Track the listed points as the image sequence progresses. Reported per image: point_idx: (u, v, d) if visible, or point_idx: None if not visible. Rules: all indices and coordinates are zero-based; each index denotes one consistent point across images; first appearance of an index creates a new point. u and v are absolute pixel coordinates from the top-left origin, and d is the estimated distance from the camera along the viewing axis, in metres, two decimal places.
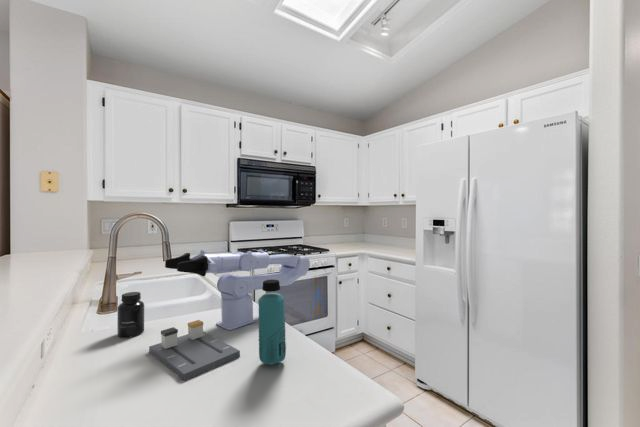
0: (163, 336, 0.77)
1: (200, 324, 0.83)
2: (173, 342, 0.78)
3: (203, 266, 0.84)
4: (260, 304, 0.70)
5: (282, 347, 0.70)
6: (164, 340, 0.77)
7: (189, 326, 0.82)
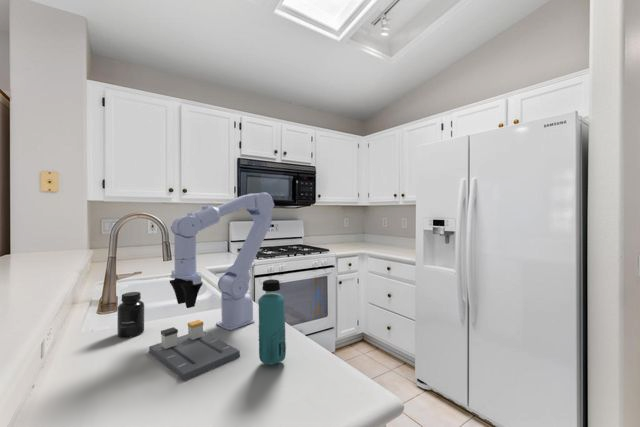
0: (163, 336, 0.77)
1: (200, 324, 0.83)
2: (173, 342, 0.78)
3: None
4: (260, 304, 0.70)
5: (282, 347, 0.70)
6: (164, 340, 0.77)
7: (189, 326, 0.82)
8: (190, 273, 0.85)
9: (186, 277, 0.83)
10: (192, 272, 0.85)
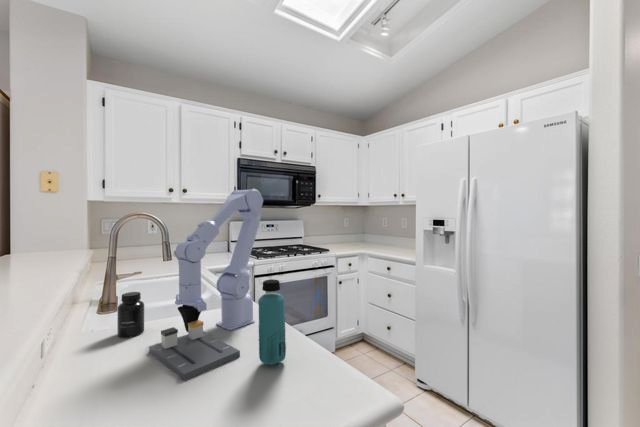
0: (163, 336, 0.77)
1: (200, 324, 0.83)
2: (173, 342, 0.78)
3: None
4: (260, 304, 0.70)
5: (282, 347, 0.70)
6: (164, 340, 0.77)
7: (189, 326, 0.82)
8: (195, 299, 0.83)
9: (191, 304, 0.81)
10: (197, 297, 0.84)
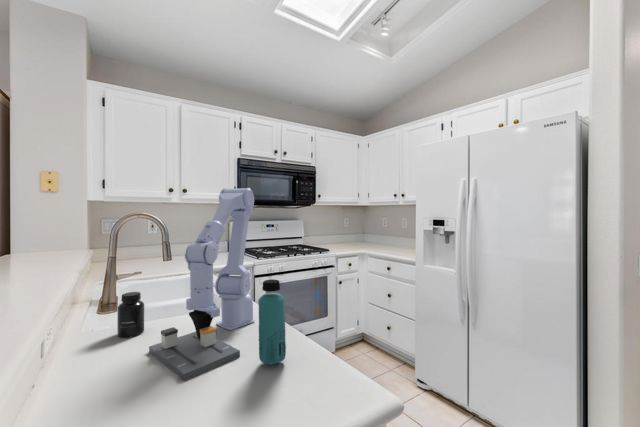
0: (163, 336, 0.77)
1: (213, 330, 0.79)
2: (173, 342, 0.78)
3: None
4: (260, 304, 0.70)
5: (282, 347, 0.70)
6: (164, 340, 0.77)
7: (201, 333, 0.78)
8: (207, 304, 0.79)
9: (203, 309, 0.77)
10: (209, 302, 0.79)
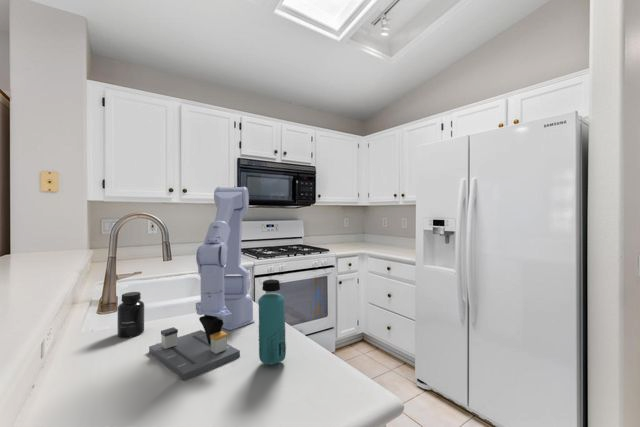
0: (163, 336, 0.77)
1: (224, 336, 0.75)
2: (173, 342, 0.78)
3: None
4: (260, 304, 0.70)
5: (282, 347, 0.70)
6: (164, 340, 0.77)
7: (212, 338, 0.74)
8: (218, 308, 0.75)
9: (215, 314, 0.73)
10: (221, 307, 0.76)
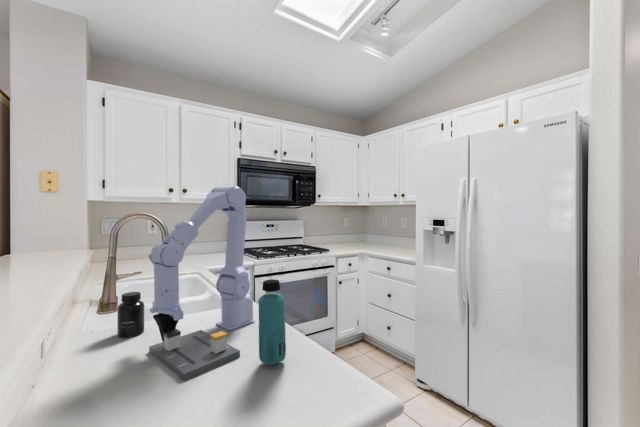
0: (166, 338, 0.76)
1: (224, 336, 0.75)
2: (175, 343, 0.77)
3: None
4: (260, 304, 0.70)
5: (282, 347, 0.70)
6: (167, 342, 0.75)
7: (212, 338, 0.74)
8: (171, 306, 0.77)
9: (166, 312, 0.75)
10: (174, 305, 0.77)
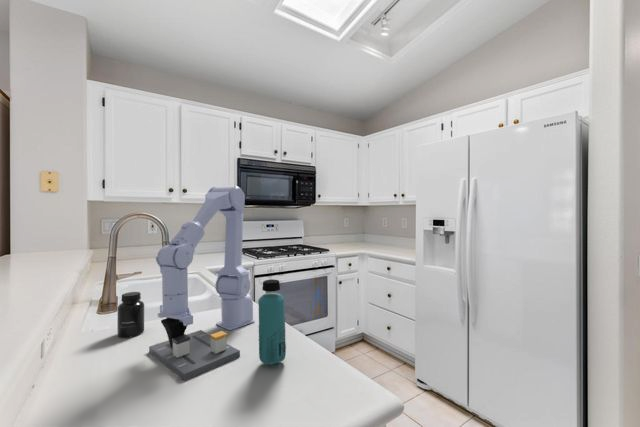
0: (175, 344, 0.72)
1: (224, 336, 0.75)
2: (185, 350, 0.73)
3: None
4: (260, 304, 0.70)
5: (282, 347, 0.70)
6: (176, 348, 0.72)
7: (212, 338, 0.74)
8: (180, 311, 0.73)
9: (175, 317, 0.71)
10: (183, 309, 0.74)
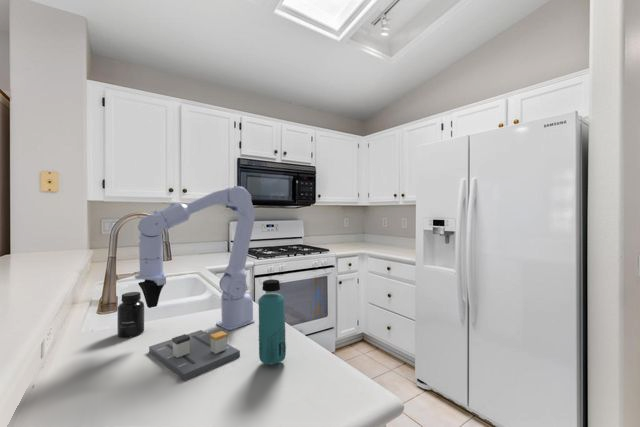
0: (175, 344, 0.72)
1: (224, 336, 0.75)
2: (185, 350, 0.73)
3: None
4: (260, 304, 0.70)
5: (282, 347, 0.70)
6: (176, 348, 0.72)
7: (212, 338, 0.74)
8: (155, 274, 0.82)
9: (150, 278, 0.80)
10: (158, 272, 0.83)
